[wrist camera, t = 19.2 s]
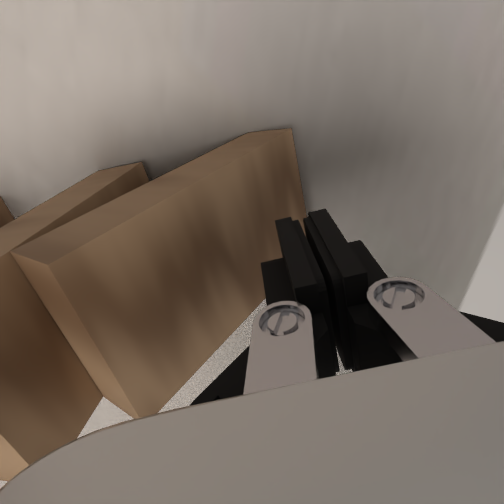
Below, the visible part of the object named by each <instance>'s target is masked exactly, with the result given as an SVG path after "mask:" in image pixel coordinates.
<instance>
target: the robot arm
mask: <svg viewBox="0 0 504 504" xmlns="http://www.w3.org/2000/svg"><path fill="white" fill-rule="evenodd" d="M308 215H309V217H307V218H303V223H304V228H305V234H306V236H305V234H304V231H303V229H302V227H301V224H300V222H299V220H294V221H292V218H291V217H287V218H283V219H279V220H275V225H276V229H277V234H278V239H279V243H280V248H281V252H282V257H283V258H279V259H274V260H270V261H266V262H261V270H262V277H263V283H264V290H265V297H266V303H267V306H266V307H264V308H263V309H262V310H260V311H259V312H258V314H257V315H256V316H255V318H254V321H253V325H252V332H251V340H250V346H249V347H248V348H246V349H245V350H244V351H243V352H242V353H241V354H240V355H239V356H238V357H237V358H236V359H235V360H234V361H233V362H232V363H231V364H230V365H229V366H228V367H227V368H226V369H225V370H224V371H223V372H222V373H221V374H220V375H219V376H218V377H217V378H216V379H215V380H214V381H213V382H212V383H211V384H210V385H209V386H208V387H207V388H206V389H205V390H204V391H203V392H202V393H201V394H200V395H199V396H198V397H197V398H196V399H195V400H194V401H193V402H192V403H191V405H190V406H187V407H182V408H178V409H173V410H169V411H165V412H161V413H157V414H153V415H149V416H145V417H141V418H137V419H132V420H128V421H124V422H121V423H118V424H115V425H112V426H109V427H105V428H102V429H99V430H96V431H94V432H92V433H89V434H87V435H85V436H82V437H80V438H77V439H75V440H73V441H70V442H68V443H67V444H65V445H63V446H61V447H59V448H57V449H56V450H54V451H52V452H50V453H48V454H46V455H45V456H43V457H41V458H40V459H38V460H37V461H35V462H34V463H32V464H30V465H29V466H27V467H26V468H25V469H23V470H22V471H21V472H19V473H18V474H17V475H15V476H14V477H13V478H12V479H11V480H9V481H8V482H7V483H6V484H5V485H4V486H3V487H2V488H1V489H0V504H504V323H502V322H498V321H494V320H491V319H487V318H483V317H479V316H475V315H471V314H467V313H463V312H460V311H457V310H456V309H455V308H454V307H452V306H451V305H450V304H449V303H448V302H446V301H445V300H444V299H443V298H441V297H440V296H439V295H438V294H437V293H435V292H434V291H433V290H432V289H430V288H429V287H428V286H427V285H425V284H424V283H422V282H420V281H418V280H415V279H412V278H407V277H389V278H388V277H387V275H386V274H385V273H384V271H383V270H382V268H381V267H380V266H379V264H378V263H377V262H376V260H375V259H374V258H373V256H372V255H371V254H370V252H369V251H368V249H367V248H366V247H365V245H364V244H363V243H362V242H361V241H360V240H358V241H354V242H349V243H348V242H347V241H346V239H345V238H344V236H343V235H342V233H341V232H340V230H339V229H338V227H337V225H336V224H335V222H334V221H333V219H332V218H331V216H330V215H329V213H328V212H327V210H326V209H322V210H317V211H313V212H309V213H308ZM336 348H337V350H338V353H339V356H340V358H341V361H342V364H343V366H344V369H345V370H348V369H352V371H353V372H350V373H345V374H341V375H336V373H335V372H339V364H338V358H337V351H336Z"/></svg>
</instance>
